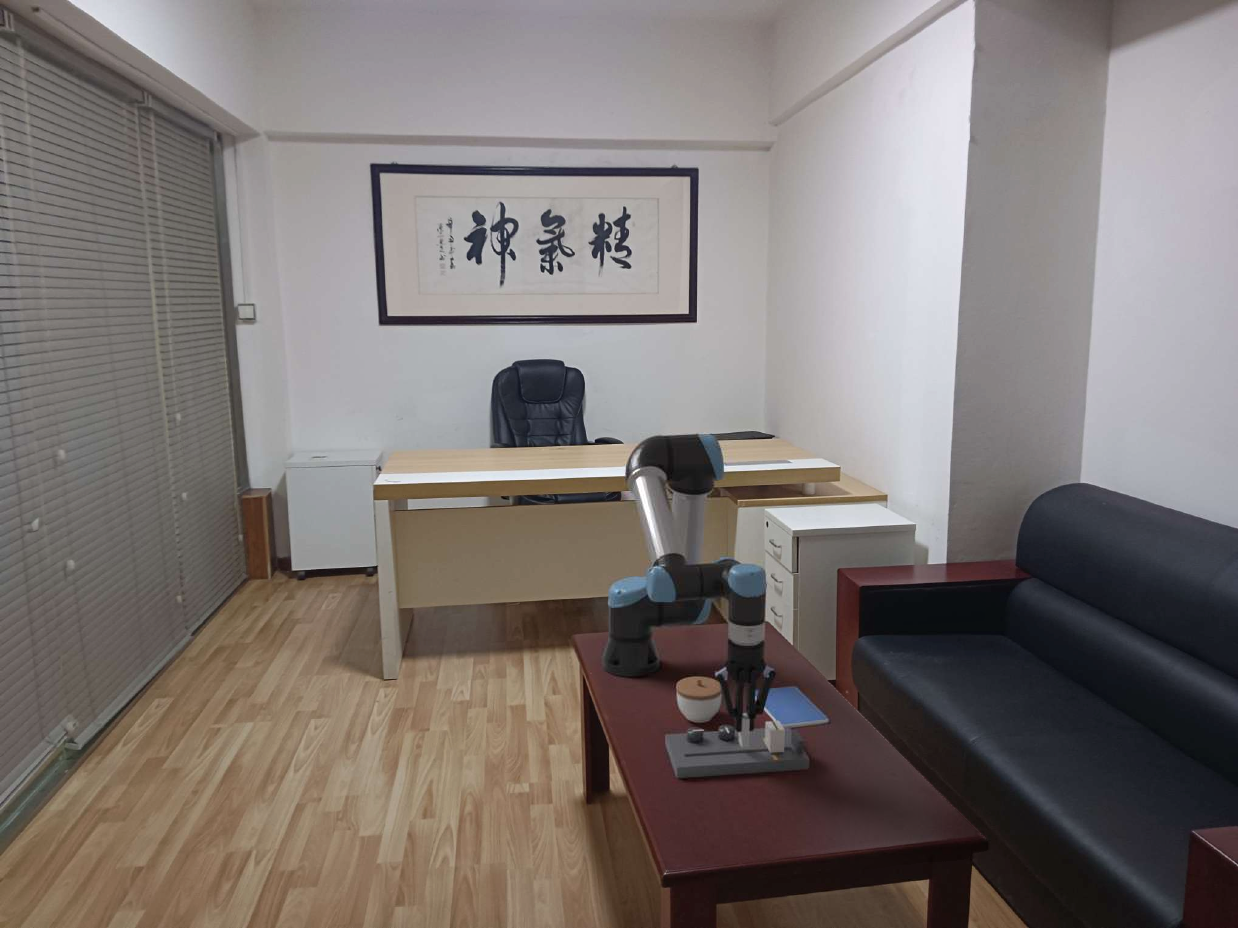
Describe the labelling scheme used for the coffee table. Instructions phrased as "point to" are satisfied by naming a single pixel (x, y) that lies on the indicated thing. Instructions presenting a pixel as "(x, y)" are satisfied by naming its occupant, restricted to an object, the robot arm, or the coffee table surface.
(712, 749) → the console
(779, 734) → the fader tab
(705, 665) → the coffee table surface
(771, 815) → the coffee table surface
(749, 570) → the robot arm
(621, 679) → the coffee table surface
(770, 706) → the tablet computer
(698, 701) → the lidded jar
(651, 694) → the coffee table surface
